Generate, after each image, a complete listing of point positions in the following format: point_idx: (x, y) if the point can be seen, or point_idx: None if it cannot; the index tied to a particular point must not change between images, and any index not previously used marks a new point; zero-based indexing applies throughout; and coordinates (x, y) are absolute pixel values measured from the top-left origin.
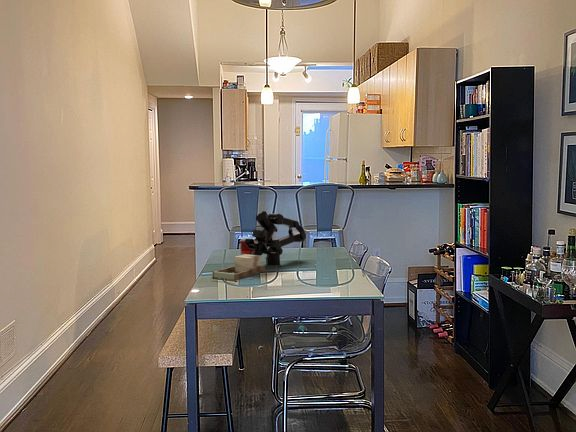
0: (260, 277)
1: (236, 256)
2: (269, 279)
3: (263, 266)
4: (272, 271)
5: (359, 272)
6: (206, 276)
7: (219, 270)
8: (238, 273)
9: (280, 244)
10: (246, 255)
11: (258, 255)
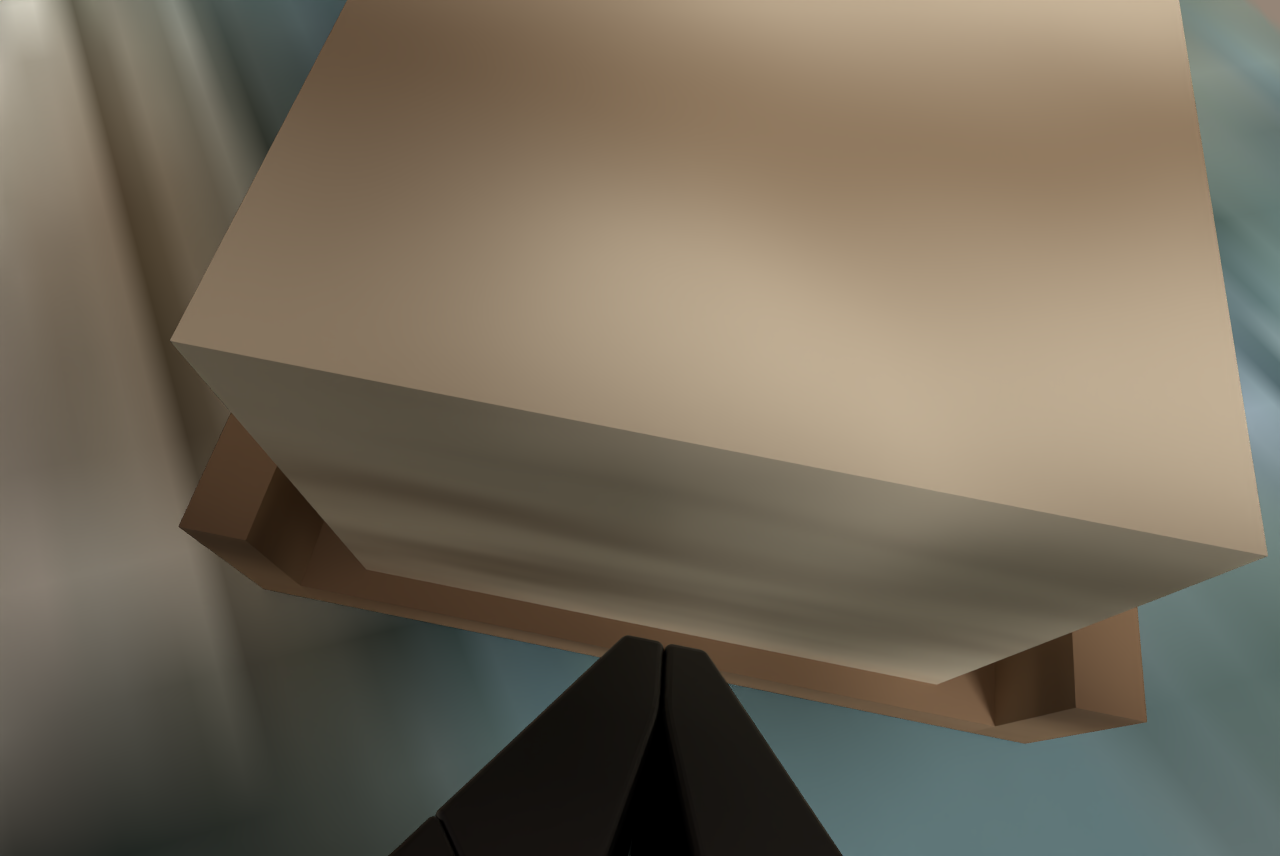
0: (248, 152)
1: (1147, 9)
2: (23, 53)
3: (220, 447)
4: (85, 844)
5: None
6: (1246, 56)
7: None
8: None
9: None
10: (917, 238)
11: (318, 345)
